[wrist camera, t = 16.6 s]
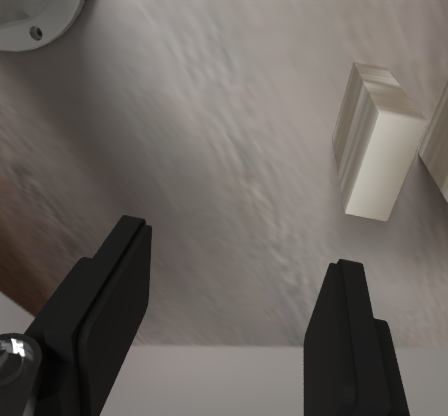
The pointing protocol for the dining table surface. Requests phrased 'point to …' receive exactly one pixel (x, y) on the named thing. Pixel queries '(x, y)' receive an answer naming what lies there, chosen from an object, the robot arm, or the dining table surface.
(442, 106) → the domino
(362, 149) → the domino
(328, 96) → the dining table surface
